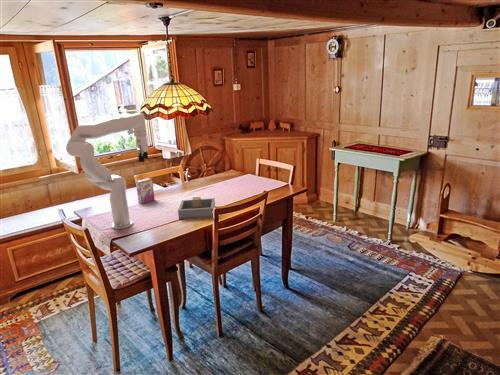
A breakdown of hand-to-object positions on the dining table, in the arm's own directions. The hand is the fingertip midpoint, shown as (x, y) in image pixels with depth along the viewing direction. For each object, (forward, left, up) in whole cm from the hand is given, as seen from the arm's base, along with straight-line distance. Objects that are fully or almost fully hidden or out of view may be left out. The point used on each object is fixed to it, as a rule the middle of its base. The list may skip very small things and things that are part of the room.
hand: (143, 160), depth 231 cm
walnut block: (-6, -32, -35) cm, 48 cm away
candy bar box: (+25, +8, -36) cm, 45 cm away
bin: (-6, -32, -36) cm, 48 cm away
